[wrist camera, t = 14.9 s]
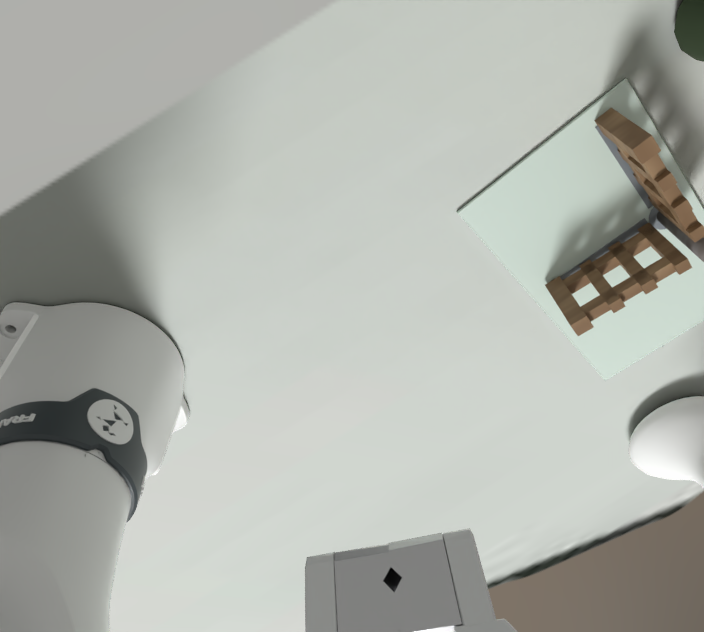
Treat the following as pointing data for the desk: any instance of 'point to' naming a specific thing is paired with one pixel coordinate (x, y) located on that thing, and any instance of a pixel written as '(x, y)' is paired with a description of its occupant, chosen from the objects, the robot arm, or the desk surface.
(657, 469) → the flower in vase
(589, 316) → the fence gate
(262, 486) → the desk surface
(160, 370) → the robot arm
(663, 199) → the fence panel with post
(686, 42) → the character mug
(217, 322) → the desk surface
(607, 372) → the card
